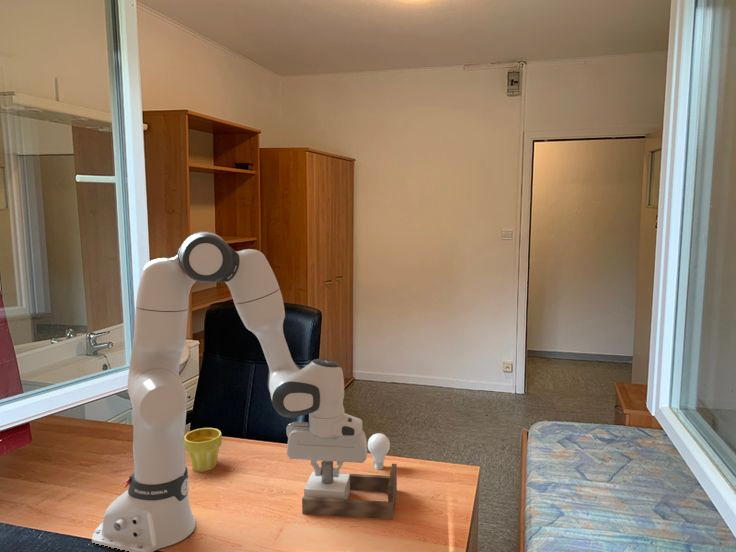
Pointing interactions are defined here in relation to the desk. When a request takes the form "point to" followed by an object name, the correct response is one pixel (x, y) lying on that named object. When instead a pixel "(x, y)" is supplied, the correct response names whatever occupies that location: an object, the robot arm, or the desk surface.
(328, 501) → the bay
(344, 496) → the white box with knob
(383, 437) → the lightbulb
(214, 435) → the plant pot
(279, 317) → the robot arm
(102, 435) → the desk surface
